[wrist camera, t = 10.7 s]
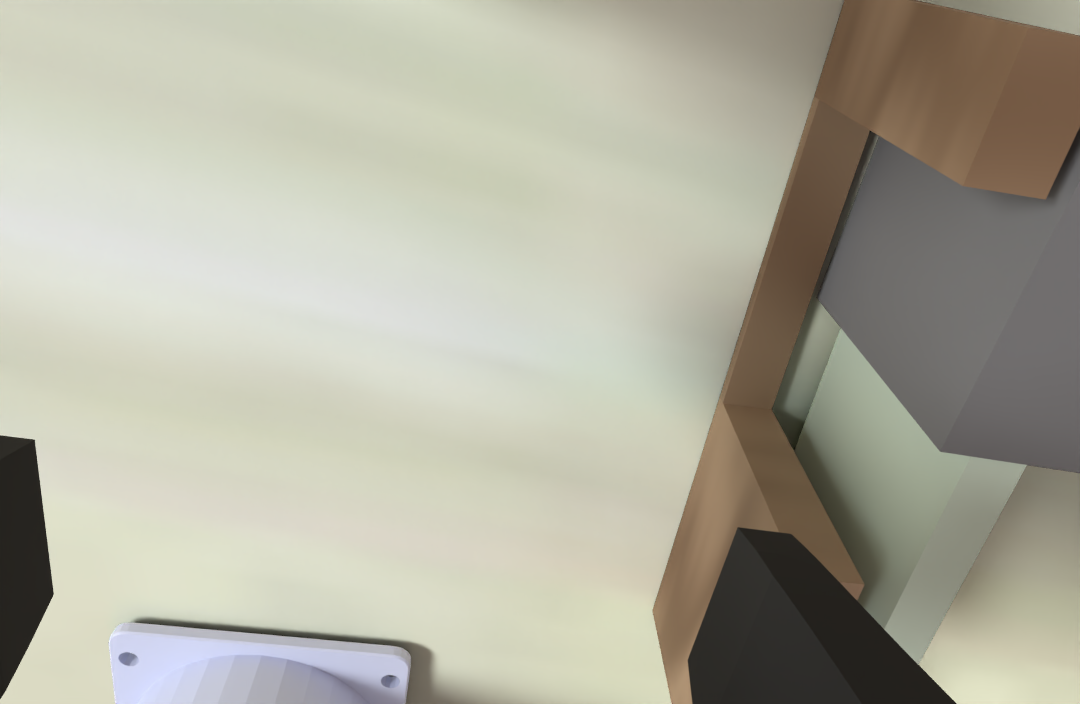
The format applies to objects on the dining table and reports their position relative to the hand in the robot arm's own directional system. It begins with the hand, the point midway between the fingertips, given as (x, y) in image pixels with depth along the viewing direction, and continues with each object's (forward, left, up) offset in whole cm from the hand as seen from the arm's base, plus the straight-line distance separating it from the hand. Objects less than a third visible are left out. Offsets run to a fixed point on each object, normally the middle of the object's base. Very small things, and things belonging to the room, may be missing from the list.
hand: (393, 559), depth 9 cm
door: (-4, -9, -10) cm, 14 cm away
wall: (-2, -7, -10) cm, 12 cm away
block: (+3, -10, -10) cm, 15 cm away
